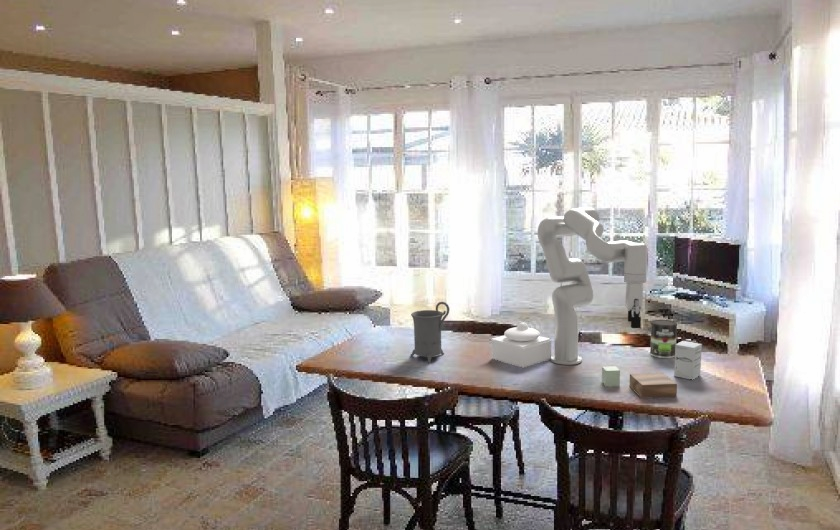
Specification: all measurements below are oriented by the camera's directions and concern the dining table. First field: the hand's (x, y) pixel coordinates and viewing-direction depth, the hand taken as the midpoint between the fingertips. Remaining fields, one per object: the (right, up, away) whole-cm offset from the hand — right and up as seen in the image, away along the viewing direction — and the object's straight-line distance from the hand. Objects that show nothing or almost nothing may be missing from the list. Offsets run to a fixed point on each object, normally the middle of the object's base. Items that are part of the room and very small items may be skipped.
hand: (634, 324), depth 229 cm
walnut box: (+5, -24, -4) cm, 25 cm away
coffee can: (+25, -17, +39) cm, 50 cm away
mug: (-73, -19, +44) cm, 87 cm away
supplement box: (+24, -21, +11) cm, 34 cm away
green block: (-7, -22, +5) cm, 24 cm away
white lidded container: (-34, -18, +39) cm, 55 cm away
